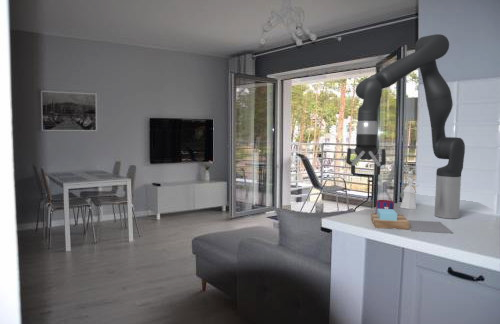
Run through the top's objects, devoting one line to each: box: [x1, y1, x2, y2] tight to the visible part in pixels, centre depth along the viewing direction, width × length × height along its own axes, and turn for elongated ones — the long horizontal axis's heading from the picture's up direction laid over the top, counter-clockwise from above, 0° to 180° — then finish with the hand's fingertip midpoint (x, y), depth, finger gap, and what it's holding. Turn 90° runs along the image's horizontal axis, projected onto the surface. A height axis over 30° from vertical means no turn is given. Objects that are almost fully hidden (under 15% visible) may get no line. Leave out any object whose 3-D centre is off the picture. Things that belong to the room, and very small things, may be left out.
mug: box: [375, 199, 395, 214], centre depth 163 cm, size 7×10×7 cm
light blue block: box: [377, 209, 398, 221], centre depth 149 cm, size 9×6×2 cm, turn 169°
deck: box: [370, 212, 410, 230], centre depth 149 cm, size 14×12×2 cm
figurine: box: [399, 169, 420, 210], centre depth 182 cm, size 7×8×18 cm
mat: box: [407, 219, 454, 234], centre depth 146 cm, size 16×14×1 cm
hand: (365, 175), depth 149 cm, fingers open, 8 cm apart
